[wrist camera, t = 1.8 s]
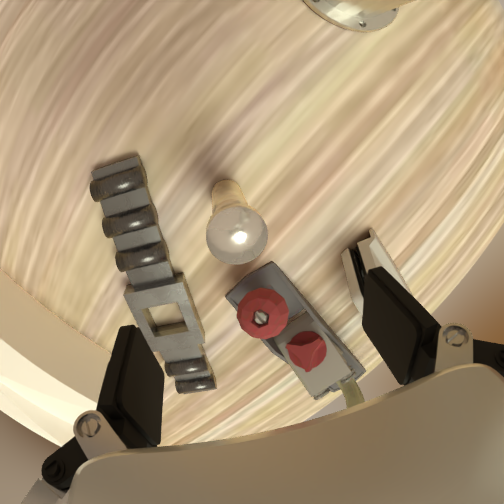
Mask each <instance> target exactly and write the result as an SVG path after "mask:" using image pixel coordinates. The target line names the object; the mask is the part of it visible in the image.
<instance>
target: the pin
mask: <svg viewBox="0 0 504 504" xmlns="http://www.w3.org/2000/svg"><path fill="white" fill-rule="evenodd" d="M211 195H212V213H213V214H212V216H211V217H210V219H209V221H208V224H207V228H206V240H207V245H208V248H209V250H210V251H211V253H212V254H213V255H214V256H215V257H216V258H217V259H219V260H220V261H222V262H224V263H228V264H234V265H237V264H244V263H247V262H250V261H252V260H254V259H255V258H256V257H258V256H259V255H260V254H261V252H262V251H263V250H264V248H265V246H266V243H267V239H268V230H267V226H266V224H265V222H264V220H263V218H262V216H261V215H260V213H259V212H258V211H257V210H256V209H254V208H253V207H251V206H249V205H248V203H247V201H246V199H245V197H244V195H243V193H242V191H241V188H240V187H239V185H238V184H237V183H236V182H234V181H232V180H222V181H220V182H218V183H217V184H216V185H215V186H214V187H213V189H212V194H211Z"/></svg>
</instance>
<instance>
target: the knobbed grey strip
mask: <svg viewBox="0 0 504 504" xmlns="http://www.w3.org/2000/svg"><path fill="white" fill-rule="evenodd" d="M91 173H92V176H93V179H94V181H91V183H90V193H91V196H92V198H93V200H94V201H95V202H99V201H100V202H101V205H102V208H103V211H104V214H105V218H103V220H102V227H103V231H104V234H105V236H106V237H107V238H113V240H114V242H115V245H116V248H117V250H118V252H117V253H116V256H115V259H116V265H117V267H118V269H119V271H120V272H124V271H126V273H127V275H128V278H129V280H130V282H131V284H130V285H127V287H126V289H125V292H124V294H123V295H124V297H125V299H126V302H127V304H128V306H129V308H130V310H131V312H132V314H133V316H134V318H135V320H136V322H137V324H138V326H139V328H140V330H141V331H142V333H143V335H144V337H145V339H146V341H147V343H148V345H149V347H150V348H151V350H152V352H156V351H160V353H161V355H162V357H163V358H164V360H165V371H166V373H167V375H168V376H169V377H171V376H174V378H175V386H176V390H177V392H178V393H179V394H181V393H184V394H188V393H195V392H201V391H207V390H213V389H217V385H216V378H215V375H214V373H213V371H212V368H211V366H210V364H209V361H208V359H207V357H206V354H205V352H204V349H203V347H202V345H201V344H202V343H205V332H204V329H203V327H202V324H201V321H200V318H199V316H198V313H197V310H196V307H195V305H194V302H193V299H192V296H191V293H190V290H189V287H188V284H187V282H186V279H185V276H184V273H180V274H175V273H174V270H173V267H172V264H171V261H170V258H169V251H168V247H167V244H166V242H165V241H164V240H163V237H162V234H161V231H160V228H159V224H158V215H157V211H156V208H155V206H154V205H153V204H152V201H151V197H150V194H149V190H148V187H147V176H146V172H145V169H144V167H143V166H142V165H141V161H140V157H139V156H135V157H132V158H129V159H126V160H123V161H120V162H117V163H114V164H111V165H108V166H105V167H102V168H99V169H96V170H94V171H92V172H91ZM175 302H178V305H179V307H180V310H181V313H182V315H183V318H184V320H185V322H181V323H175V324H170V325H165V326H159V327H156V325H155V322H154V320H153V318H152V316H151V314H150V312H149V309H148V308H150V307H155V306H160V305H165V304H170V303H175Z"/></svg>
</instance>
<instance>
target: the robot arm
mask: <svg viewBox="0 0 504 504" xmlns="http://www.w3.org/2000/svg"><path fill="white" fill-rule="evenodd" d="M313 1H314V2H313ZM313 1H312V0H304V2H305V3H306V4H307V5H308V6H309V7H310V8H311V9H312V10H313V11H314V12H316V13H317V14H318V15H319V16H321V17H322V18H324V19H325V20H327V21H329V22H330V23H332V24H334V25H337V26H339V27H341V28H344V29H348V30H351V31H357V32H372V31H376V30H380V29H382V28H384V27H387V26H388V25H389V24H391V23H392V22H393V20H394V19H395V18H396V16H397V14H398V10H399V6H402V5H404V4H407V3H410V2H412V1H415V0H313ZM362 326H363V329H364V331H365V333H366V334H367V336H368V337H369V339H370V340H371V342H372V343H373V345H374V346H375V348H376V349H377V351H378V352H379V354H380V355H381V357H382V358H383V360H384V361H385V363H386V364H387V366H388V367H389V369H390V370H391V372H392V374H393V375H394V377H395V378H396V380H397V381H398V383H399V384H400V385H402V384H403V385H404V386H403V387H401V388H398V389H396V390H393V391H391V392H389V393H386V394H384V395H381V396H379V397H376V398H374V399H371V400H369V401H366V402H363V403H361V404H358V405H355V406H352V407H350V408H347V409H344V410H341V411H338V412H335V413H332V414H329V415H325V416H322V417H319V418H316V419H312V420H309V421H305V422H302V423H298V424H294V425H290V426H287V427H283V428H278V429H274V430H270V431H265V432H261V433H256V434H251V435H246V436H240V437H235V438H229V439H223V440H216V441H209V442H202V443H193V444H184V445H174V446H163V447H157V445H159V444H160V442H161V423H162V406H163V391H164V372H163V370H162V368H161V366H160V365H159V363H158V361H157V359H156V358H155V356H154V354H153V352H152V350H151V348H150V347H149V345H148V343H147V341H146V339H145V337H144V335H143V333H142V331H141V330H140V328H139V327H137V328H136V327H135V326H134V325H128V326H122V327H120V329H119V331H118V335H117V338H116V341H115V344H114V348H113V351H112V355H111V358H110V361H109V362H108V365H107V369H106V372H105V376H104V380H103V383H102V387H101V391H100V395H99V399H98V403H97V407H96V410H89V411H85V412H84V413H82V414H81V415H79V416H78V417H77V419H76V420H75V422H74V425H73V432H74V435H75V436H74V437H73V438H72V439H70V440H69V441H68V442H67V443H65V444H64V445H63V446H62V447H60V448H59V449H58V450H57V451H56V452H54V453H53V454H52V455H50V456H49V457H48V458H47V459H46V460H45V461H44V463H43V465H42V476H43V478H42V480H41V479H39V478H38V480H37V481H36V482H35V484H34V485H33V487H32V488H31V490H30V491H29V492H28V494H27V495H26V497H25V498H24V500H23V501H22V503H21V504H504V345H503V344H497V343H491V342H485V341H480V340H474V339H473V337H472V333H471V332H470V330H469V329H468V328H467V327H466V326H464V325H462V324H458V323H448V324H446V325H444V326H442V327H441V326H440V324H439V323H438V322H437V321H436V320H435V319H434V318H433V317H432V316H431V315H430V314H429V313H428V311H427V310H426V309H425V308H424V307H423V306H422V305H421V304H420V303H419V302H418V301H417V300H416V299H415V298H414V297H413V296H412V295H411V294H410V293H409V292H408V291H407V290H406V289H405V288H404V287H403V286H402V285H401V284H400V283H399V282H398V281H397V280H396V279H395V278H394V277H393V276H392V275H391V274H390V273H389V272H388V271H387V270H386V269H384V268H383V267H382V266H379V267H376V268H372V269H369V270H368V273H367V274H365V277H364V300H363V316H362Z"/></svg>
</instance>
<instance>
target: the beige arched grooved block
mask: <svg viewBox="0 0 504 504" xmlns="http://www.w3.org/2000/svg"><path fill="white" fill-rule="evenodd" d="M369 233H370V236H371V237H370V238H368V239H365V240H363V241H360V242H357V244H358V246H357V247H356V250H357V253H358V256H359V257H358V256H357V255H356V253H355V252H354V251H353V249H352V250H349V249H348V248H347V249H346V250H345V251H343V253H342V254H341V257H342V261H343V265H344V269H345V273H346V277H347V282H348V286H349V290H350V294H351V298H352V300H353V302H354V304H355V306H356V307H357V309H358V311H359V312H360V314H361V315H362V316H363V300H364V277H365V274H367V273H368V270H369V269H372V268H376V267H379V266H382V267H383V268H384V269H386V270H387V271H388V272H389V273H390V274H391V275H392V276H393V277H394V278H395V279H396V280H397V281H398V282H399V283H400V284H401V285H402V286H403V287H404V288H405V289H406V290H407V291H408V292H409V293H410V294H411V295H412V293H411V292H410V290H409V288H408V286H407V284H406V283H405V281H404V279H403V277H402V276H401V274H400V272H399V271H398V269H397V267H396V266H395V264H394V262H393V261H392V259H391V257H390V256H389V254H388V252H387V251H386V249H385V248H384V246H383V244H382V243H381V241H380V240H379V238H378V237H377V235H376V233H375V232H374V230H373V229H370V230H369ZM412 296H413V295H412Z"/></svg>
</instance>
